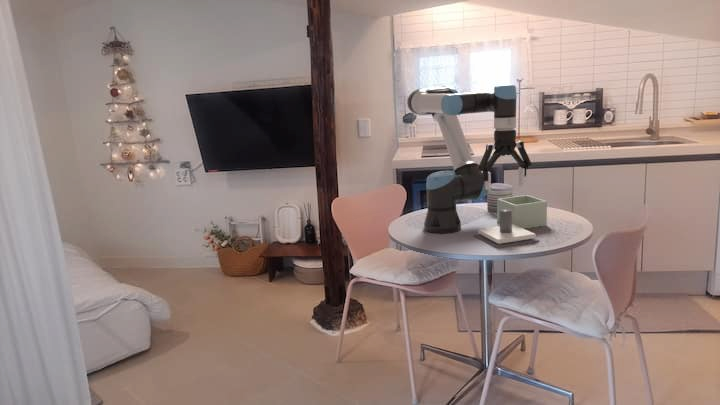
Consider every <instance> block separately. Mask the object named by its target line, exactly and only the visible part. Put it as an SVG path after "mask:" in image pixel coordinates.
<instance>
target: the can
mask: <svg viewBox="0 0 720 405" xmlns="http://www.w3.org/2000/svg"><path fill="white" fill-rule="evenodd" d="M486 196H487V198H486V202H487V203H486V204H487V205H486V206H487V212H488V213H491V214H497V199H500V198H508V197H513V185H510V184H507V183H500V182H499V183H497V182H495V183H491V190H489V192H488V194H487V195H486Z"/></svg>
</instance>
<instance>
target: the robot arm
mask: <svg viewBox="0 0 720 405" xmlns="http://www.w3.org/2000/svg"><path fill="white" fill-rule="evenodd" d="M517 96H518V95H517V86H516V84H499V85H495V86H494V87H493V90H482V91H476V92H473V91H472V92H463V93H459V92H458V90H457V88H454V87H452V86H445V85H443V86H439V87H436V86H435V87H423V88H422V87H421V88H418V89H415V90H413V91H412V92H410V94H409V95H408V98H407V101H406V103H407V108H408V109H409V111H410V112H411V113H412V114H414V115H418V116H428V115H430V116H431V117H432V119H433V121H434V122H436V123H438V125H439V128H440V132H441V135H442V138H443V140H444V143H445V146H446V149H447V152H448V155H449V158H450V161H451V164H452V167H453V170H449V169H448V170H439V171H436V172H432V173H430V174H429V175H428V176H427V177H426V183H425V184H426V186H425V188H426V205H427V206H426V207H427V210H426V211H427V212H426V214H425V215H426V216H425V219H424V223H423V229H424V231H426V232H429V233H433V234H449V233H455V232H458V231H460V230H461V229H462V222H461V219H460V217H459V213H458V211H457V202H464V201H470V200H478V199H482V198H485V197H486V196H487V194H488V192H489V190H491V184H492V183H491V182H492V176H491V175H492V173H491V172H490V170H491V169H492V167H493V166H494V165H495V163H496V162H497V161H498V159H499V158H501V157H504V156H511V157H512V158H513V160H515V162H516V163H517V164H518V165H519V166H520V167H518V176H517V177H518V181H517V182H518V186H520V187H525V177H527V169H528V168H529V167H530V166H532V162H531V160H530V158H529V155H528V153H527V150H526V148H525V145H524V144H525V143H524V141H522V140H521V141H520V140H517V141H516V139H517V130H516V127H517ZM476 113H477V114H479V113H493V129H494V131H493V140H494V143H493V144H489V143H487V144H486V145H485V151H484V153H483V156H482V158H481V161H480V163H478V162H475V161H474V159H473V156H472V154H471V151H470V148H469V146H468V143H467V139H466V137H465V134H464V131H463V128H462V125H461V123H460V120H459V117H458V116H459V115H466V114H468V115H469V114H476ZM516 148H517V150H518V152H519V154H520V155H519V154H518V152H517V151H516V150H515V149H516ZM492 152H493V153H492Z"/></svg>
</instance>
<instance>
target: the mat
mask: <svg viewBox="0 0 720 405" xmlns="http://www.w3.org/2000/svg"><path fill="white" fill-rule="evenodd" d="M474 237H475V238H477V239H479V240H481V241H483V242H485V243H487V244H488V245H490V246H492V247H494V248H496V249H500V248H501V249H502V248H508V247H512V246H513V247H515V246H522V245H526V244H532V243H540V240H539V239H537V238H536V237H535V238H531V239H529V240H522V241H516V242H509V243H503V244H498V243H496V242H494V241H492V240H490V239H488V238H487V237H485V236H483V235H481V234H479V233H477V234H474Z"/></svg>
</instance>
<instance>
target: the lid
mask: <svg viewBox="0 0 720 405" xmlns="http://www.w3.org/2000/svg"><path fill="white" fill-rule="evenodd" d="M477 234H481V235H483V236H485V237H487V238H488V239H490V240H492V241H494V242H496V243H498V244H503V243H509V242H516V241H522V240H529V239H531V238H535V239H536V233H534V232H533V231H532V232H531V231H529V230H528V229H523V228H521V227H518V226H516V225H514V224H512V210H509V209H503V210H500V223H499V225H498V226H497V225H496V226H491V227H486V228H477Z"/></svg>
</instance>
